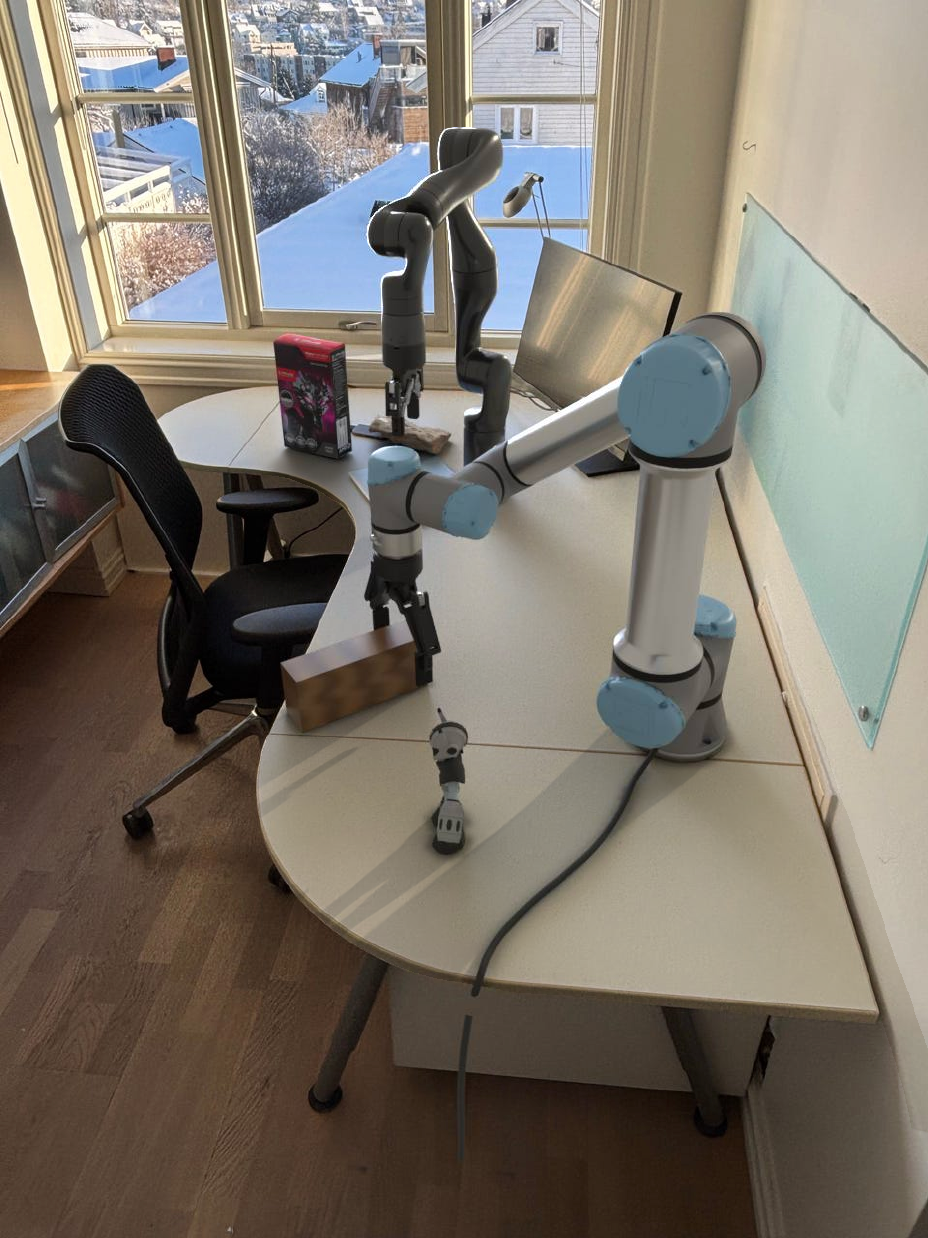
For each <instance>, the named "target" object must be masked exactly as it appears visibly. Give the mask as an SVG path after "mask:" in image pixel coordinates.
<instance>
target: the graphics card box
mask: <svg viewBox="0 0 928 1238" xmlns="http://www.w3.org/2000/svg"><path fill="white" fill-rule="evenodd" d="M272 344H273V345H272V346H273V349H274V350H273V353H274V361H275V362H274V363H275V371H276V380H277V381H276V382H277V390H278V398H279V399H278V400H279V408H280V417H281V418H280V419H281V428H282V435H283V436H282V437H283V446H284V447H285V448H289V449H294V450H298V451H302V452H306V453H311V454H315V455H319V456H323V457H328V458H333V459H336V460H338V459H339V460H340V458H342V457H344V456H346V455H347V454H349V453H350V452H352V451H353V446H352V429H351V415H350V402H349V401H350V400H349V385H348V370H347V356H346V343H345V342H339V341H338V342H337V341H333V340H327V339H321V338H317V337H311V336H305V335H300V334H295V333H289V332H288V333H285V334H282V335H280V336H279V337H277V338H276V339H274V340H273V342H272Z"/></svg>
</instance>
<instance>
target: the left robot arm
mask: <svg viewBox="0 0 928 1238" xmlns="http://www.w3.org/2000/svg"><path fill="white" fill-rule="evenodd" d="M437 145H438V146H437V162H438V171H437V172H435V173H432V174H430V175H429V176H427V177H425V178H423V179H422V180H421V181H420V182H419V183H417V185H416V186H414V187H413V189H411V190H410V191H409V193H408V194H407V195H406V196H403V197H402V198H398V199H396V200H394V201H391V202H390V203H387V204H386V205H384V206H382V207H381V208H379V209H378V210H377V211H376V212H375V213H374V214H373V216H372V217H371V218H370V221H369V222H368V223H369V224H368V225H367V231H366V236H367V244H368V245H369V248H370V249H371V250H372V252H374V253H375V254H376V255H377V256H379V257H384V258H390V259H391V258H392V259H401V260H405V267H404V269H403V270H397V271H392V272H388V273H386V274H385V275H383V276H382V278H381V281H380V292H381V293H380V294H381V320H380V333H381V334H380V335H381V355H382V356H381V360H382V364H383V366H384V367H385V368H387V369H390V370H391V372H392V374H391V377H390V381H385V383H384V399H385V401H384V402H385V403H384V404H385V415H386V416H391V420H392V435H393V436H398V437H403V436H404V435H405V419H406V418H405V414H406V417H407V418H408V419H410V420H418V419H419V418H420V413H421V411H420V399H421V397H422V393H421V392H424V390H425V383H424V382H425V381H424V366H425V365H426V361H427V357H426V356H427V353H426V351H427V349H426V346H427V345H426V343H427V342H426V319H425V312H424V309H425V308H424V285H425V284H424V283H425V279H426V271H427V268H428V263H429V260H430V256H431V252H432V248H433V244H434V232H435V231H436V230H437V229H438V228H439V227H440V226H441V224H442V223H443V222H444V221H445V220H446V223H447V232H448V234H447V235H448V244H449V264H450V276H451V286H452V294H453V295H452V296H453V304H454V305H453V306H454V322H455V323H454V324H455V349H454V350H455V352H454V353H455V354H454V355H455V357H454V364H455V365H454V367H455V368H454V369H455V371H454V372H455V378H456V381H457V385H458V386H459V388H461V390H463V391H465V392H467V393H470V394H474V395H478V396H481V397H482V402H481V403H482V404H480V405H479V404H478V405H474V406H471V407H469V408H467V409H466V410H465V411H464V413H463V432H462V433H463V447H462V448H463V453H462V455H463V456H462V458H463V459H462V460H463V461H462V462H463V463H462V465H463V466H462V468H463V467H465V466H466V465H468V464H469V463H471V462H473V461H474V460H476V459H477V458H479V457H480V456H481V455H483V454H484V453H486V452H487V451H488V450H489V449H491V448H492V447H494V446H495V445H497V444H499V443H502V442H505V441H506V431H507V430H506V429H507V418H508V414H509V410H510V403H511V401H510V400H511V391H512V379H513V368H512V363H511V359H510V358H509V357H508V356H507V355H505V354H502V353H499V352H495V351H490V350H486V349H483V345H482V325H483V321H484V319H485V317H486V315H487V313H488V312H489V310H490V309H491V307H492V305H493V302H494V300H495V298H496V296H497V293H498V290H499V270H498V269H499V267H498V255H497V251H496V248H495V246H494V244H493V242H492V241H491V238H489V237H490V236H489V235H488V234H487V233H486V230H485V229H484V228H483V226H482V225H481V223H480V221H478V218H477V217H476V215H475V213H474V211H473V208H472V206H471V203H470V200H469V199H470V198H471V197H473V196H474V195H476V194H478V193H479V192H481V191H482V190H483V189H486V188H487V187H488V186H490V185H492V184H493V183H494V182H495V181H496V180H497V178H498V177H499V175H500V173H501V171H502V167H503V162H504V147H503V142H502V138H501V137H500V135H499V134H498V133H497V132H496V131H495V130H493V129H490V128H483V127H480V128H479V127H448V128H446V129H444V130H443V131H442V133H441V134H440V136H439V141H438V144H437ZM395 407H396V408H395Z"/></svg>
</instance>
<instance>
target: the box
mask: <svg viewBox="0 0 928 1238" xmlns="http://www.w3.org/2000/svg"><path fill="white" fill-rule="evenodd" d="M414 651H417V648H416V645H415V643H414V640H413V637H412V635H411V632H410V630H409V627H408V624H407V622H406V619H403V620H400V621H397V622H395V623H392V624H391V623H390V625H388V626H386V627H383V628H380V629H377V630H374V629H373V630H371V631H367V632H365V633H362V634H360V635H357V636H354V637H351V638H348V639H346V640H342V641H339V642H337V643H333V644H330V645H328V646H324V647H321V648H319V649H315V650H314V651H310V652H307V653H305V654H302V655H299V656H296V657H293V658H289V659H287V660H284V661H281V662H280V663H279V664H280V671H281V679H282V687H283V695H284V702H285V711H286V714H287V715H288V716H289V718H290V719H291V720H292V721H293V723H294V724H295V725H296V727H297V728H298V729H299V731H300V732H301V733H302V734H304V733H306V732H309V731H312V730H313V729H317V728H319V727H321V726H324V725H327V724H329V723H332V722H334V721H337V720H340V719H342V718H345V717H347V716H350V715H352V714H355V713H358V712H360V711H363V710H366V709H368V708H370V707H373V706H376V705H378V704H381V703H384V702H386V701H389V700H391V699H393V698H394V699H395V698H397V697H399V696H402V695H404V694H406V693H409V692H412V691H415V690H417V689H420V688H422V687H425V686H427V685H429V683H428V684H426V685H423V686H421V687H417V686H416V679H415V655H414V654H415V652H414Z"/></svg>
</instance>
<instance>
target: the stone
mask: <svg viewBox="0 0 928 1238" xmlns="http://www.w3.org/2000/svg"><path fill="white" fill-rule="evenodd" d="M368 432H369V433H370V434H372V433H379V434H381V436H382V437H384V438H386V439H390V441H391V443H392V444H395V445H400V444H402V446H405V447H408V448H411V449H413V450H419V451H425V452H429V453H430V454H433V455H438V454H439V453H440V452H441V451H442V450H443V446H445V445H446V443H447V442H448V441H449V440H450V438H451V436H452V433H451V432H450V431H447V430H445V429H441V428H440V427H439V428H438V427H430V426H427V425H426V426H425V425H418V424H415V423H414V422H413V421H409V420H407V419H406V418H405V435H404V436H403V437H398V436H393V435H392V420H391V416H386V414H384V415H383V414H381V415H377V416H375V417H374V419H373V420H371V422H370V425H368Z"/></svg>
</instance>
